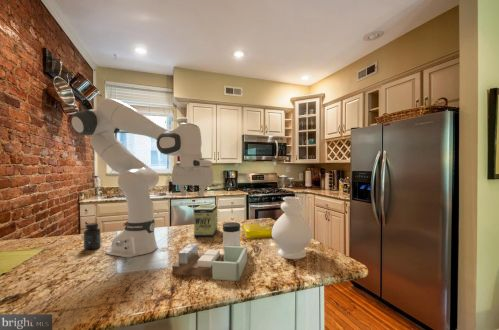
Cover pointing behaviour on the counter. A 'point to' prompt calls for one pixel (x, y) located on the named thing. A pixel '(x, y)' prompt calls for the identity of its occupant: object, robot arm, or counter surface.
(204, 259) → the tile near
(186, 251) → the grey block
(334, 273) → the counter surface
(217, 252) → the tile far
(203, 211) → the protein box
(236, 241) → the jar
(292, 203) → the decorative vase
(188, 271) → the board
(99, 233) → the supplement bottle
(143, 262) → the counter surface
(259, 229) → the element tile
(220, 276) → the box
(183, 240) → the counter surface
